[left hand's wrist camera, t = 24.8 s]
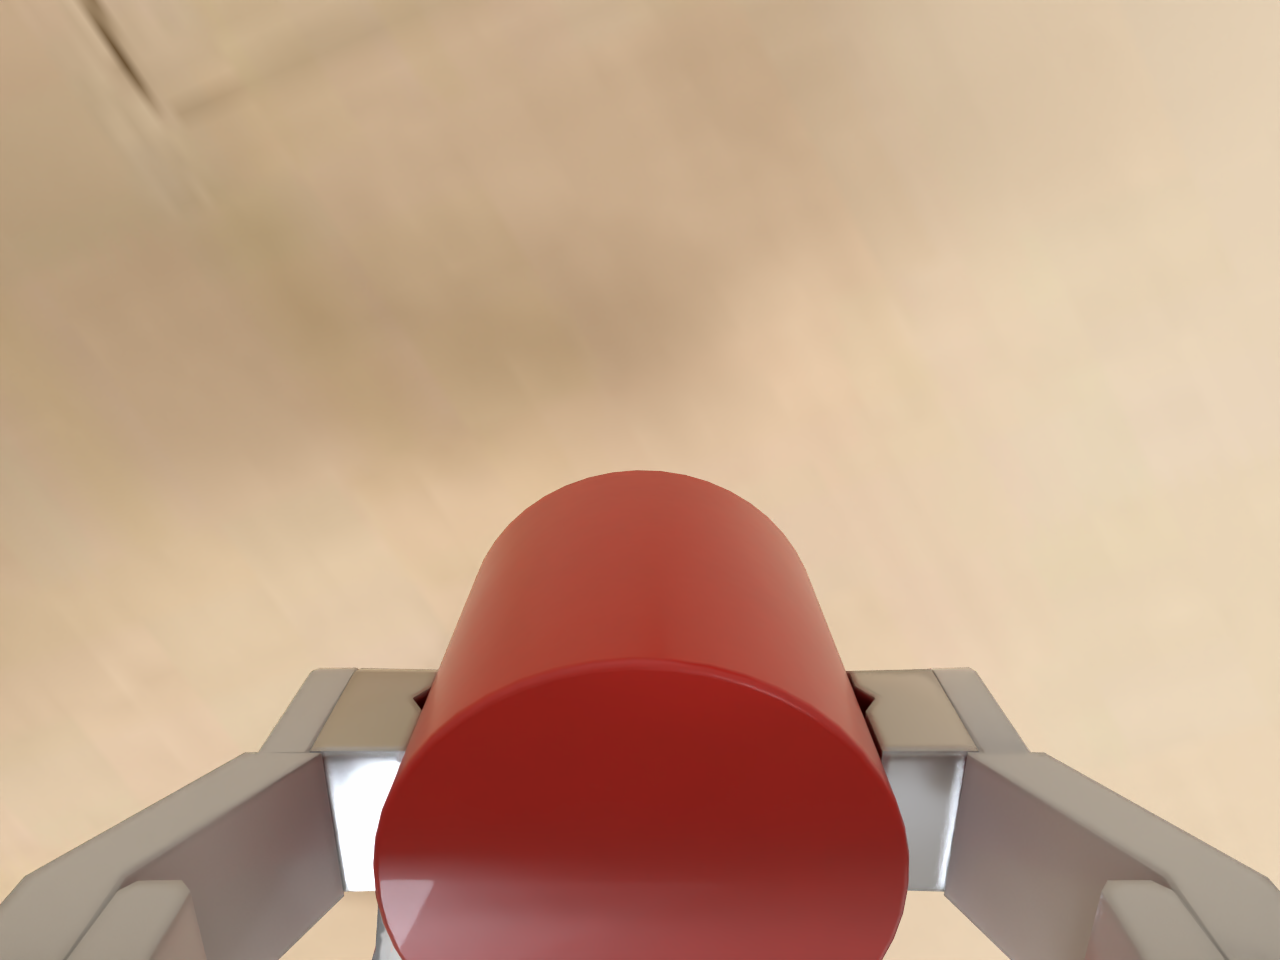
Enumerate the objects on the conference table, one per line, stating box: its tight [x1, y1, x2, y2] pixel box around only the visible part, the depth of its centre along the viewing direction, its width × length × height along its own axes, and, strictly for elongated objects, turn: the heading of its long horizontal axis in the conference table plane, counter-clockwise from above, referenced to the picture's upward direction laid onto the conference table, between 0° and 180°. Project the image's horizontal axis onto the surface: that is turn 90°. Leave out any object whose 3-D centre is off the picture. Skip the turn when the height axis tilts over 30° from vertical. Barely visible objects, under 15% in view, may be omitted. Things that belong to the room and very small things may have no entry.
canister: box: [373, 470, 909, 960], centre depth 10 cm, size 5×5×4 cm
